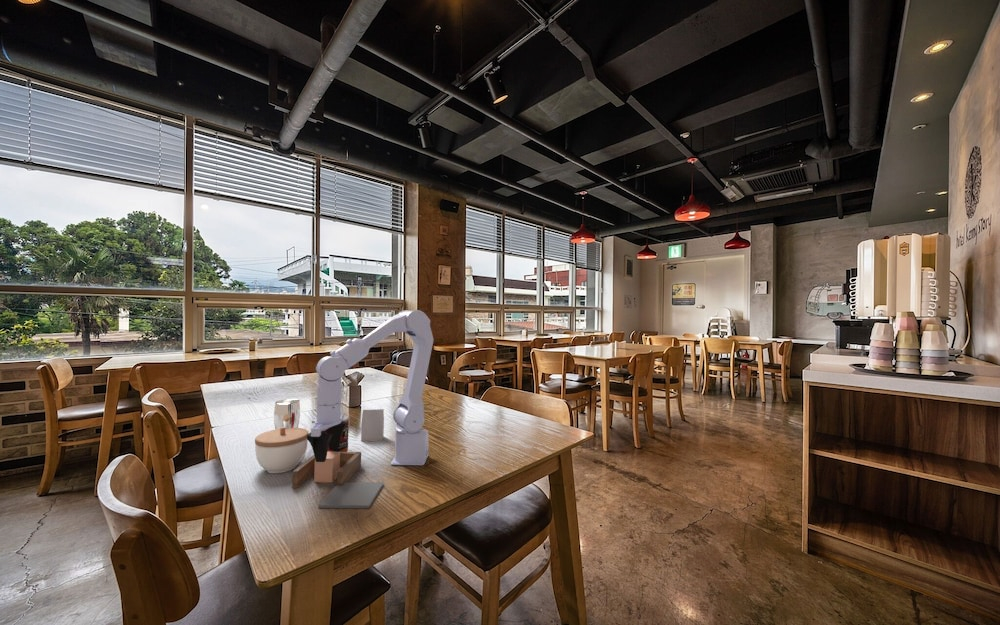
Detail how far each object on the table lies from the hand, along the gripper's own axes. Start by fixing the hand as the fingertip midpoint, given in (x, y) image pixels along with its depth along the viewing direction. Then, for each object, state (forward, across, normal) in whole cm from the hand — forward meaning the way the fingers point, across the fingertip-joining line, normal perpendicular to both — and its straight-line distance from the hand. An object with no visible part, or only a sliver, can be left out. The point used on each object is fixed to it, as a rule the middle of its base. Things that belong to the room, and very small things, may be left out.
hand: (327, 455), depth 94 cm
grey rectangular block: (+6, -30, +2) cm, 31 cm away
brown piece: (+6, -1, 0) cm, 6 cm away
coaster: (+6, +9, +10) cm, 15 cm away
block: (+6, 0, 0) cm, 6 cm away
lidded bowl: (+6, -6, -15) cm, 17 cm away
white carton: (+6, -19, -21) cm, 29 cm away
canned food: (+6, -16, -5) cm, 18 cm away
